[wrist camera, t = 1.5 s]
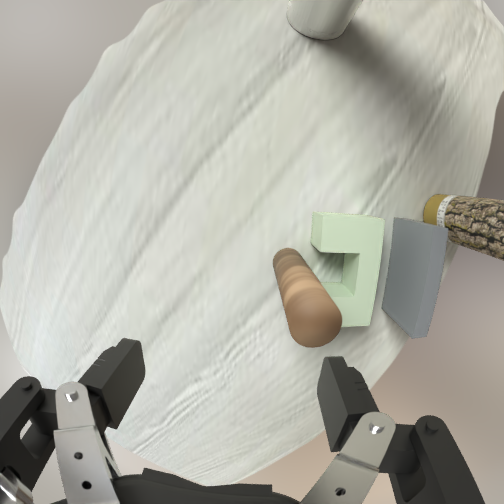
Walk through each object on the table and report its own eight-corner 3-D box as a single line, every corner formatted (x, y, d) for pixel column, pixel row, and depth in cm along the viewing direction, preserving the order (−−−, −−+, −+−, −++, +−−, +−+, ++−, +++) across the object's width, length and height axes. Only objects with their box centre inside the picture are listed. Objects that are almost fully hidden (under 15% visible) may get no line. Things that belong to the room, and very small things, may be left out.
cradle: (312, 211, 35) (322, 215, 30) (367, 215, 35) (384, 219, 30) (304, 310, 38) (312, 327, 33) (356, 309, 38) (369, 325, 33)
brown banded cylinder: (273, 247, 36) (291, 299, 19) (303, 248, 36) (345, 299, 19) (272, 276, 37) (287, 348, 19) (301, 277, 37) (337, 346, 19)
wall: (394, 217, 35) (433, 226, 25) (407, 218, 35) (448, 228, 25) (381, 308, 38) (411, 338, 28) (394, 307, 38) (426, 336, 28)
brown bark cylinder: (431, 245, 36) (555, 298, 11) (414, 210, 35) (552, 241, 10) (456, 220, 35) (575, 254, 11) (440, 185, 34) (570, 197, 9)
